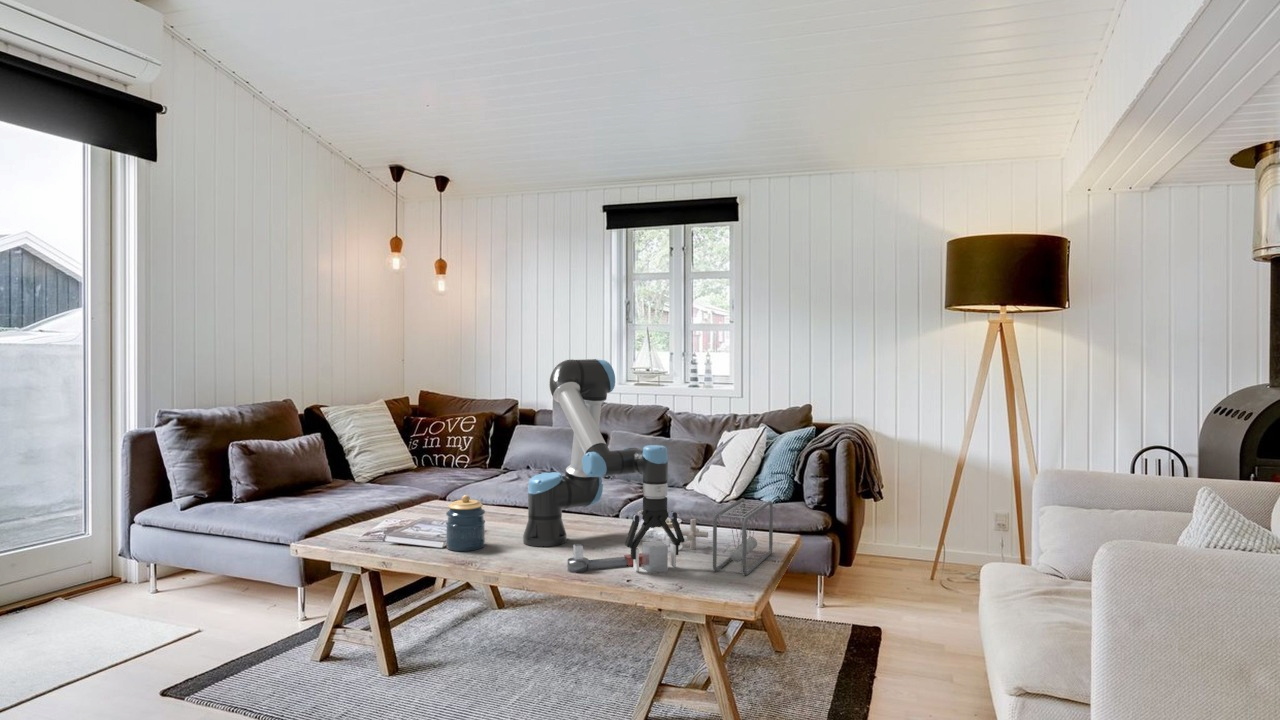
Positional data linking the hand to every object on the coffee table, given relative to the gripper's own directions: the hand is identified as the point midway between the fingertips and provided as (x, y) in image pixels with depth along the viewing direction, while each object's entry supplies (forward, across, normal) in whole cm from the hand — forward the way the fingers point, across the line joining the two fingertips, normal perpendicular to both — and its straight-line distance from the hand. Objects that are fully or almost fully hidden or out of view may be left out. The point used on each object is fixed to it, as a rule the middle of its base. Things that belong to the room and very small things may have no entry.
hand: (654, 567), depth 224 cm
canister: (+1, -51, +46) cm, 69 cm away
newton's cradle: (+1, +30, -2) cm, 30 cm away
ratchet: (+1, -12, +8) cm, 14 cm away
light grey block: (+1, 0, 0) cm, 1 cm away
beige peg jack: (+1, +21, +18) cm, 28 cm away
